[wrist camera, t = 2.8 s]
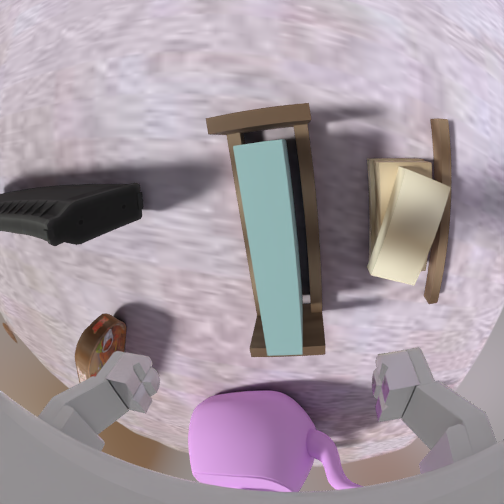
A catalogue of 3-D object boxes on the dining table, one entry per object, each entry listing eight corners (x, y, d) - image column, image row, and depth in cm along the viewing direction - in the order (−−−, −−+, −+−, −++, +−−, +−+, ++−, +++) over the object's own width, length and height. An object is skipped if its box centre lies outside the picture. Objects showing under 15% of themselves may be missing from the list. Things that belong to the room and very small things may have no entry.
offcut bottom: (364, 157, 20) (369, 159, 19) (416, 157, 19) (424, 159, 18) (366, 267, 24) (369, 274, 22) (413, 262, 23) (418, 270, 21)
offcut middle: (373, 160, 19) (379, 162, 17) (423, 160, 18) (431, 162, 16) (374, 267, 22) (378, 275, 21) (419, 262, 21) (425, 270, 20)
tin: (122, 373, 36) (98, 411, 28) (106, 364, 36) (80, 400, 28) (130, 309, 30) (92, 355, 22) (109, 297, 29) (69, 339, 22)
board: (254, 143, 20) (232, 146, 13) (286, 139, 20) (281, 139, 13) (276, 296, 26) (267, 355, 18) (302, 294, 25) (302, 354, 18)
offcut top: (398, 166, 17) (406, 168, 16) (441, 183, 17) (450, 187, 15) (366, 266, 21) (371, 275, 19) (408, 276, 20) (414, 285, 19)
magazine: (109, 206, 14) (-82, 235, 10) (117, 256, 16) (-75, 260, 11) (159, 169, 30) (-9, 194, 25) (160, 196, 31) (-6, 214, 27)
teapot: (242, 449, 41) (227, 515, 27) (183, 385, 34) (145, 474, 20) (365, 434, 34) (370, 510, 21) (349, 359, 28) (362, 480, 14)
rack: (229, 123, 20) (205, 118, 14) (438, 114, 16) (477, 111, 11) (260, 314, 27) (251, 357, 21) (430, 298, 23) (453, 334, 18)
